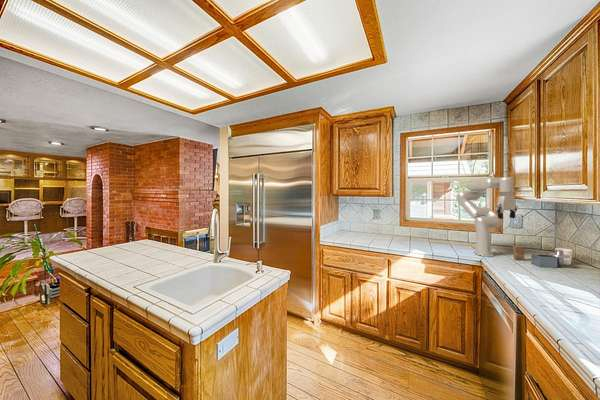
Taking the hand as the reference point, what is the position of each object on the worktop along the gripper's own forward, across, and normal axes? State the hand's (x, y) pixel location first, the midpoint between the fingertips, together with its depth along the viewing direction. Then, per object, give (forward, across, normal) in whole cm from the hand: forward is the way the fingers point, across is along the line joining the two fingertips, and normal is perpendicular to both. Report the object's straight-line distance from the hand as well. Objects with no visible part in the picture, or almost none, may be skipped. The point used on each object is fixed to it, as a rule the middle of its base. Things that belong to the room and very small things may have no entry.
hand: (506, 218), depth 160 cm
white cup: (+33, -35, +8) cm, 49 cm away
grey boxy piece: (+33, -21, +12) cm, 40 cm away
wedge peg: (+32, -15, -4) cm, 36 cm away
